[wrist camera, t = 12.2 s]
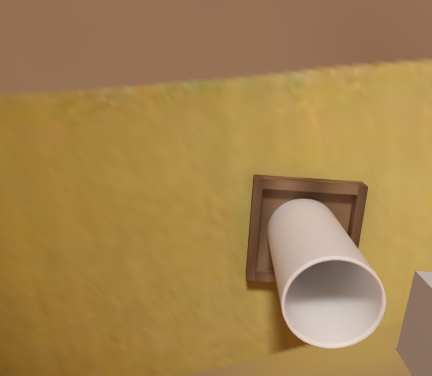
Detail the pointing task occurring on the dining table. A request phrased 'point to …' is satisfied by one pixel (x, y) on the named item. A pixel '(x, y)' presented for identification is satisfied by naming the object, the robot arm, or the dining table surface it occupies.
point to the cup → (322, 277)
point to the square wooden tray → (289, 190)
